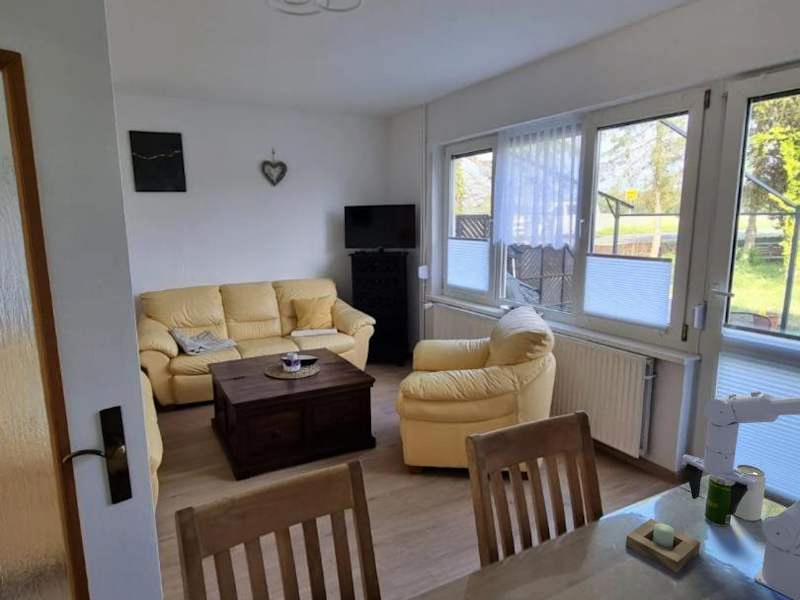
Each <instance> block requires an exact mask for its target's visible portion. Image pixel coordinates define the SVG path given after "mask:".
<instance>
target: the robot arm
mask: <svg viewBox="0 0 800 600" xmlns="http://www.w3.org/2000/svg"><path fill="white" fill-rule="evenodd" d="M703 413H704V415H705V418H706V419H707V426H706V427H707V428H706V429H707V430H706V437H705V444H704V445H705V446H704V455H703V458H701V457H697V456H694V455H693V456H692V455H690V454H684V455H682V456H681V465H684V466H685V467H684V469H683V473H684V475H685V476H686V479H687V481H688V484H689V488H690V492H691V498H692V499H693V500H696V499H698V498H699V496H700V491H701V481H702V477H703V473H705V472H706V473H707V474H709V475H711V474H712V475H715V476H719V477H721V478H724V479H727V480H729V481H732V482H735V484H733V485H732V486H731V487H730V494H731V498H730V506H729V514H731V516H733V515H734V513H735V512H736V509H737V506H738V504H739V502H740V501H741V499H742V497H743V496H744V495H745V493H746V492H747V491H748V490H749V489H750V490H753V489H755V488H756V482H757V479H754V478H751V477H749V476H747V475H745V474H743V473H741V472H739V471H737V470H736V469H735V468H734V466H735V456H736V449H737V444H738V437H739V436H738V435H739V428H740V424H752V423H753V424H754V423H773V422H775V421H776V420H778V418H779V417H780V416H785V415H787V416H789V415H790V416H792V415H794V416H795V415H796V416H797V415H798V416H799V415H800V396H795V397H783V398H775V397H774V396H772V395H771V394H769V393H762V392H761V391H759V390H757V391H752V392H751V391H750V393H749V394H747V395H746V394H745V395H737V394H734V393H732V394H729V395H726V396H722V397H719V398H718V397H717V398H712V399H711V400H708V401H707V402H706V403H705V404H704V407H703ZM761 531H762V534H763V535H764V537H765V539H766V540H765V547H764V555H763V561H762V567H761V569H760V570H759V571H758V572H757V573H756V574H755V576H754V577H753V580H754V581H755V582H757V583H759V584H762V585H763V586H766V587H767V588H769V589H772V590H774V591H776V592H777V593H780V594H782V595H783V596H786V597H787V598H789V599H792V600H800V499H799V500H797V502H795V503H793V504H792V505H790V506H789V507H787V508H786V509H783V510H782V511H781V512H779V513H776V514H774V515H769V516H766V517H765V518H764V519H763V521H762V522H761Z"/></svg>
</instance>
